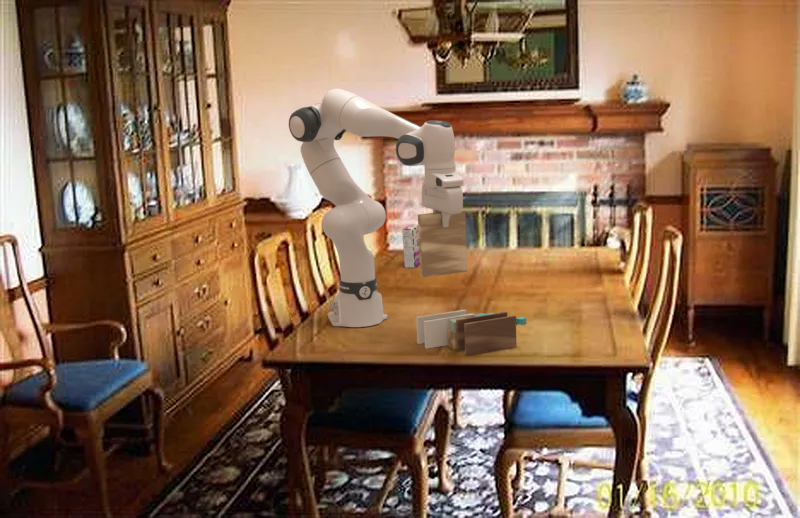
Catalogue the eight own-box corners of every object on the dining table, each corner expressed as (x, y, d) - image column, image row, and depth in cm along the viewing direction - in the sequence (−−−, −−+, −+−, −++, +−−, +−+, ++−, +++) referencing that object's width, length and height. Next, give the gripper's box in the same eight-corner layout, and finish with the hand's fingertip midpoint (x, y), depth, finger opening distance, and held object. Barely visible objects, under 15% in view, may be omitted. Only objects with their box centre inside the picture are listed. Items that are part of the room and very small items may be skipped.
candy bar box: (411, 262, 389) (409, 224, 385) (422, 262, 387) (421, 224, 384) (403, 268, 378) (401, 228, 375) (415, 268, 377) (413, 228, 373)
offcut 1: (449, 329, 266) (449, 319, 265) (466, 327, 267) (465, 317, 266) (453, 332, 262) (453, 322, 262) (470, 330, 263) (470, 320, 263)
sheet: (420, 276, 265) (417, 214, 262) (463, 270, 271) (461, 209, 267) (423, 277, 263) (421, 215, 260) (467, 271, 268) (465, 210, 265)
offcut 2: (448, 346, 266) (448, 330, 265) (467, 343, 268) (466, 327, 267) (454, 350, 263) (454, 333, 262) (473, 346, 265) (472, 330, 264)
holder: (417, 343, 271) (416, 317, 269) (465, 335, 277) (464, 309, 275) (426, 348, 265) (425, 321, 263) (475, 340, 271) (474, 314, 269)
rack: (457, 350, 262) (456, 319, 260) (506, 341, 268) (505, 311, 266) (466, 355, 257) (465, 324, 255) (516, 346, 263) (515, 316, 261)
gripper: (415, 176, 270) (417, 222, 272) (445, 182, 251) (447, 231, 254) (434, 174, 272) (436, 220, 275) (466, 180, 253) (467, 229, 256)
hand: (442, 226), depth 264 cm, fingers closed on sheet, 2 cm apart
